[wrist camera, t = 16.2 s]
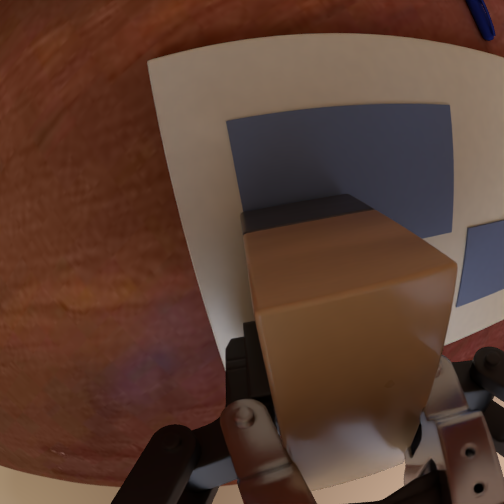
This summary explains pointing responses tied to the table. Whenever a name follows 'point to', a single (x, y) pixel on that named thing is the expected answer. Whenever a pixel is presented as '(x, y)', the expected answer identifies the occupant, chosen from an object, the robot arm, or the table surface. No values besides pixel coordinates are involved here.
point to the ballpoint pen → (482, 18)
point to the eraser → (346, 331)
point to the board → (337, 152)
